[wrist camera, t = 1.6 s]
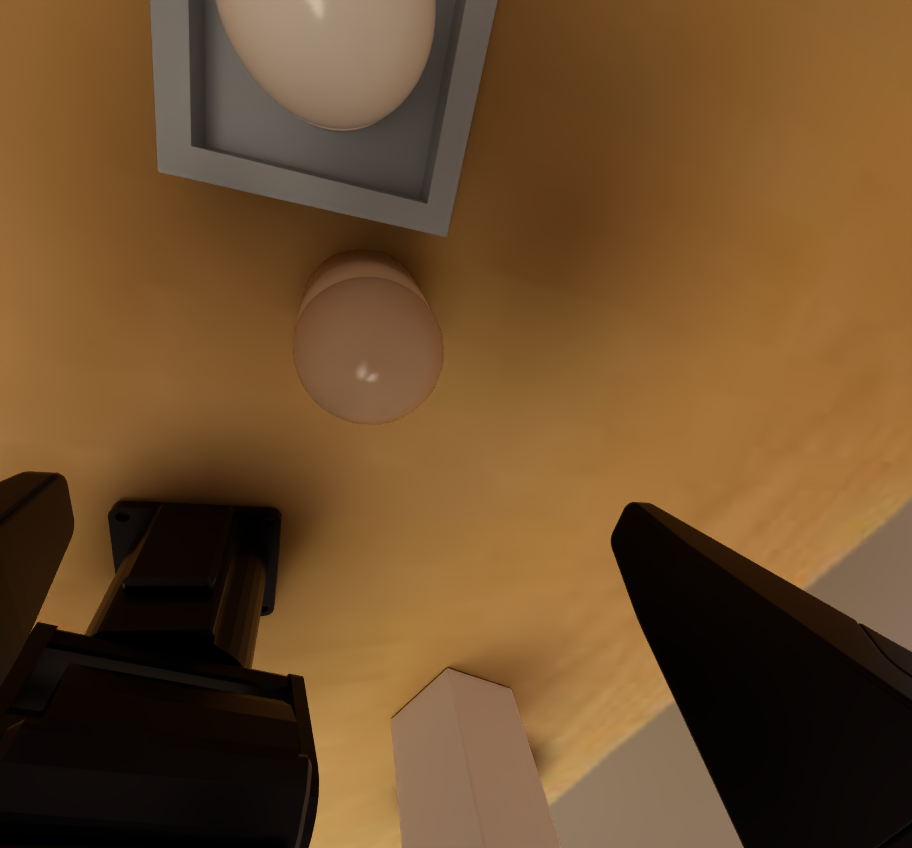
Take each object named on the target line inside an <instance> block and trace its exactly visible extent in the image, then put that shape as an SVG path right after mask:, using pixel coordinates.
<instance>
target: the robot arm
mask: <svg viewBox="0 0 912 848" xmlns="http://www.w3.org/2000/svg"><path fill="white" fill-rule="evenodd" d="M120 512H124V513H127V514H128V515H123V514H121V513H120ZM266 518H272V519H274V520H272V521H268V520H266ZM108 520H109V528H110V536H111V543H112V551H113V559H114V566H115V574H116V575H115V577H114V579H113V580H112V582H111V584H110V586H109V588H108V590H107V592H106V594H105V596H104V598H103V600H102V602H101V604H100V606H99V608H98V609H97V611H96V613H95V615H94V617H93V619H92V621H91V623H90V625H89V627H88V629H87V631H86V633H85V635H82V634H77V633H72V632H68V631H63V630H58V629H57V627H58V626H55V625H50V624H45V623H40V622H37V624H36V625H35V627H34V628H33V625H34V623H35V621H36V619H37V616H38V614H39V612H40V609H41V607H42V605H43V602H44V600H45V598H46V596H47V593H48V591H49V589H50V586H51V584H52V582H53V579H54V577H55V575H56V572H57V570H58V568H59V565H60V563H61V561H62V559H63V556H64V554H65V552H66V549H67V547H68V545H69V542H70V540H71V537H72V534H73V530H74V516H73V511H72V506H71V500H70V495H69V489H68V484H67V481H66V479H65V477H64V476H63V475H61V474H59V473H51V472H31V471H28V472H22V473H20V474H17V475H15V476H12V477H10V478H8V479H5V480H3V481H1V482H0V848H309V844H310V841H311V838H312V833H313V828H314V824H315V819H316V813H317V805H318V797H319V773H318V763H317V757H316V751H315V745H314V739H313V733H312V727H311V720H310V714H309V708H308V702H307V696H306V690H305V684H304V678H303V676H298V675H293V674H288V675H287V676H284V675H279V674H274V673H270V672H265V671H260V670H255V669H252V663H253V657H254V651H255V644H256V638H257V632H258V626H259V620H260V616H266V615H269V614H271V613H272V612H273V610H274V604H275V594H276V582H277V570H278V558H279V547H280V535H281V523H282V514H281V512H280V511H279V510H277V509H275V508H270V507H248V506H226V505H204V504H182V503H160V502H138V501H120V502H117V503H115V504H114V506H113V507H112V508H111V510H110V512H109V514H108ZM611 547H612V550H613V553H614V556H615V558H616V561H617V564H618V567H619V569H620V572H621V575H622V578H623V581H624V583H625V586H626V589H627V592H628V594H629V597H630V600H631V603H632V606H633V608H634V611H635V614H636V616H637V619H638V621H639V624H640V626H641V628H642V630H643V633H644V635H645V637H646V639H647V641H648V643H649V646H650V648H651V650H652V652H653V654H654V656H655V658H656V661H657V663H658V665H659V667H660V669H661V671H662V673H663V676H664V678H665V680H666V682H667V684H668V686H669V688H670V691H671V693H672V695H673V697H674V699H675V701H676V703H677V705H678V708H679V710H680V712H681V714H682V716H683V718H684V721H685V723H686V725H687V727H688V729H689V731H690V733H691V736H692V737H693V740H694V742H695V744H696V746H697V748H698V750H699V753H700V755H701V757H702V759H703V761H704V763H705V766H706V768H707V769H708V772H709V774H710V776H711V778H712V781H713V783H714V784H715V787H716V789H717V791H718V793H719V795H720V798H721V800H722V802H723V804H724V806H725V809H726V810H727V813H728V815H729V817H730V819H731V821H732V824H733V826H734V828H735V830H736V832H737V834H738V836H739V839H740V840H741V843H742V845H743V847H744V848H912V652H911V651H909V650H907V649H906V648H904V647H902V646H900V645H898V644H897V643H895V642H893V641H891V640H889V639H888V638H886V637H884V636H882V635H881V634H879V633H877V632H875V631H873V630H872V629H870V628H868V627H867V626H865V625H863V624H860V623H859V624H858V623H857V622H856V621H855V620H854V619H852V618H850V617H849V616H847V615H845V614H843V613H842V612H840V611H838V610H837V609H835V608H833V607H831V606H830V605H828V604H826V603H824V602H823V601H821V600H819V599H817V598H816V597H814V596H812V595H810V594H808V593H807V592H805V591H803V590H802V589H800V588H798V587H796V586H795V585H793V584H791V583H789V582H788V581H786V580H784V579H782V578H781V577H779V576H777V575H775V574H774V573H772V572H770V571H768V570H767V569H765V568H763V567H761V566H760V565H758V564H756V563H754V562H753V561H751V560H749V559H747V558H746V557H744V556H742V555H740V554H739V553H737V552H735V551H733V550H732V549H730V548H728V547H726V546H725V545H723V544H721V543H719V542H718V541H716V540H714V539H712V538H711V537H709V536H707V535H705V534H704V533H702V532H700V531H698V530H697V529H695V528H693V527H691V526H690V525H688V524H686V523H684V522H683V521H681V520H679V519H677V518H676V517H674V516H672V515H670V514H669V513H667V512H665V511H663V510H662V509H660V508H658V507H656V506H655V505H653V504H650V503H642V502H631V503H629V504H628V505H626V506H625V508H624V510H623V512H622V514H621V516H620V518H619V520H618V522H617V524H616V526H615V528H614V531H613V533H612V536H611ZM263 605H264V606H263ZM32 628H33V630H32ZM31 630H32V631H31ZM30 632H31V633H30Z"/></svg>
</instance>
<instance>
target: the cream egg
mask: <svg viewBox="0 0 912 848" xmlns="http://www.w3.org/2000/svg"><path fill="white" fill-rule="evenodd" d="M215 1H216V5H217V9H218V12H219V16H220V19H221V22H222V24H223V27H224V30H225V32H226V35H227V37H228V39H229V41H230V43H231V45H232V47H233V49H234V51H235V53H236V55H237V56H238V58H239V59H240V61H241V63H242V64H243V66H244V68H245V69H246V70H247V72H248V73H249V74H250V76H251V77H252V78H253V80H254V81H255V82H256V84H257V85H258V86H259V87H260V88H261V89H262V90H263V91H264V92H265V93H266V94H267V95H268V96H269V97H270V98H271V99H272V100H274V101H275V102H276V103H277V104H278V105H280V106H281V107H282V108H284V109H285V110H287V111H288V112H290V113H291V114H293V115H294V116H296V117H298V118H299V119H301V120H302V121H304V122H306V123H308V124H310V125H312V126H314V127H317V128H319V129H322V130H327V131H331V132H352V131H357V130H360V129H363V128H366V127H368V126H370V125H372V124H374V123H376V122H377V121H379V120H381V119H383V118H384V117H386V116H387V115H389V114H390V113H392V112H393V111H394V110H395V109H396V108H398V107H399V106H400V105H401V104H402V103H403V102H404V100H405V99H406V98H407V97H408V96H409V95H410V93H411V92H412V90H413V89H414V87H415V86H416V84H417V82H418V81H419V79H420V76H421V74H422V72H423V70H424V68H425V66H426V63H427V60H428V57H429V54H430V50H431V46H432V41H433V37H434V28H435V15H436V1H435V0H215Z"/></svg>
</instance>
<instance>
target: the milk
mask: <svg viewBox="0 0 912 848" xmlns="http://www.w3.org/2000/svg"><path fill="white" fill-rule="evenodd" d="M391 731H392V742H393V753H394V764H395V775H396V786H397V797H398V808H399V819H400V830H401V841H402V848H562V847H561V843H560V840H559V838H558V834H557V831H556V828H555V825H554V821H553V818H552V815H551V812H550V809H549V806H548V802H547V799H546V796H545V793H544V790H543V787H542V784H541V780H540V777H539V774H538V771H537V768H536V765H535V762H534V758H533V755H532V752H531V749H530V746H529V743H528V740H527V736H526V733H525V730H524V727H523V724H522V721H521V717H520V714H519V711H518V708H517V705H516V702H515V699H514V695H513V692H512V690H511V689H510V688H507V687H504V686H501V685H498V684H495V683H492V682H489V681H486V680H483V679H480V678H476V677H473V676H470V675H467V674H464V673H461V672H458V671H455V670H452V669H449V668H447V669H446V670H445V671H443V672H442V673H441V674H440V675H439V676H438V677H437V678H436V679H435V680H434V681H432V682H431V683H430V684H429V685H428V686H427V687H426V688H425V689H424V690H423V691H422V692H420V693H419V694H418V695H417V696H416V697H415V698H414V699H413V700H412V701H411V702H409V703H408V704H407V705H406V706H405V707H404V708H403V709H402V710H401V711H400V712H398V713H397V714H396V715H395V716H394V717H393V718H392V719H391Z"/></svg>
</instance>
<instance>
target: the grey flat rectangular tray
mask: <svg viewBox="0 0 912 848" xmlns="http://www.w3.org/2000/svg"><path fill="white" fill-rule="evenodd" d="M435 1H436V15H435V28H434V37H433V41H432V46H431V50H430V54H429V57H428V60H427V63H426V66H425V68H424V70H423V72H422V74H421V76H420V79H419V81H418V82H417V84H416V86H415V87H414V89H413V90H412V92H411V93H410V95H409V96H408V97H407V98H406V99H405V100H404V102H403V103H402V104H401V105H400V106H399V107H398V108H396V109H395V110H394V111H393V112H392V113H390V114H389V115H387V116H386V117H384V118H383V119H381V120H379V121H377V122H376V123H374V124H372V125H370V126H368V127H366V128H363V129H360V130H357V131H352V132H331V131H327V130H322V129H319V128H317V127H314V126H312V125H310V124H308V123H306V122H304V121H302V120H301V119H299V118H298V117H296V116H294V115H293V114H291V113H290V112H288V111H287V110H285V109H284V108H282V107H281V106H280V105H278V104H277V103H276V102H275V101H274V100H272V99H271V98H270V97H269V96H268V95H267V94H266V93H265V92H264V91H263V90H262V89H261V88H260V87H259V86H258V85H257V84H256V82H255V81H254V80H253V78H252V77H251V76H250V74H249V73H248V72H247V70H246V69H245V68H244V66H243V64H242V63H241V61H240V59H239V58H238V56H237V55H236V53H235V51H234V49H233V47H232V45H231V43H230V41H229V39H228V37H227V35H226V32H225V30H224V27H223V24H222V22H221V19H220V16H219V12H218V9H217V5H216V1H215V0H150V15H151V36H152V57H153V78H154V99H155V120H156V141H157V162H158V172H161V173H165V174H170V175H174V176H178V177H183V178H187V179H192V180H196V181H200V182H205V183H209V184H214V185H218V186H223V187H227V188H231V189H236V190H240V191H245V192H249V193H253V194H258V195H262V196H267V197H271V198H276V199H280V200H284V201H289V202H293V203H298V204H302V205H306V206H311V207H315V208H320V209H324V210H329V211H333V212H337V213H342V214H346V215H351V216H355V217H359V218H364V219H368V220H373V221H377V222H381V223H386V224H390V225H395V226H399V227H404V228H408V229H412V230H417V231H421V232H426V233H430V234H434V235H439V236H443V237H447V234H448V229H449V225H450V220H451V215H452V211H453V206H454V201H455V197H456V192H457V187H458V183H459V178H460V173H461V169H462V164H463V159H464V155H465V150H466V145H467V141H468V136H469V131H470V127H471V122H472V117H473V113H474V108H475V103H476V99H477V94H478V89H479V85H480V80H481V75H482V71H483V66H484V61H485V57H486V52H487V47H488V43H489V38H490V33H491V29H492V24H493V19H494V15H495V10H496V5H497V1H498V0H435Z"/></svg>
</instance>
